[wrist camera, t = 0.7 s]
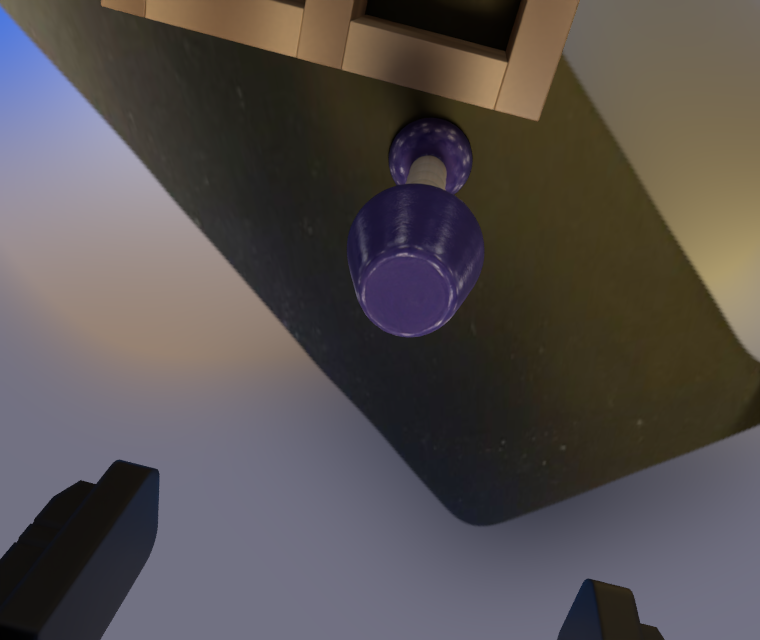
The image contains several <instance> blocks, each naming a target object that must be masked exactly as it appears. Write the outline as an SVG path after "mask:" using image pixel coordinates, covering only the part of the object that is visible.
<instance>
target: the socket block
mask: <svg viewBox="0 0 760 640" xmlns="http://www.w3.org/2000/svg"><path fill="white" fill-rule="evenodd" d="M367 1H368V0H101V6H103V7H106V8H110V9H114V10H118V11H121V12H125V13H129V14H133V15H137V16H140V17H146V18H148V19H152V20H155V21H159V22H163V23H167V24H170V25H174V26H178V27H182V28H186V29H189V30H193V31H197V32H201V33H204V34H208V35H212V36H216V37H220V38H223V39H227V40H231V41H235V42H239V43H242V44H246V45H250V46H254V47H257V48H261V49H265V50H269V51H273V52H276V53H280V54H284V55H288V56H291V57H297V58H299V59H302V60H306V61H310V62H314V63H318V64H321V65H325V66H329V67H333V68H336V69H342V70H344V71H348V72H352V73H355V74H359V75H363V76H367V77H371V78H374V79H378V80H382V81H386V82H389V83H393V84H397V85H401V86H405V87H408V88H412V89H416V90H420V91H423V92H427V93H431V94H435V95H439V96H442V97H446V98H450V99H454V100H457V101H461V102H465V103H469V104H473V105H476V106H480V107H484V108H488V109H492V110H493V109H494V110H496V111H499V112H503V113H507V114H511V115H514V116H518V117H522V118H526V119H530V120H533V121H539V119H540V116H541V113H542V110H543V107H544V104H545V101H546V98H547V95H548V92H549V90H550V87H551V84H552V81H553V78H554V75H555V72H556V69H557V66H558V63H559V60H560V57H561V54H562V51H563V48H564V45H565V42H566V39H567V36H568V33H569V31H570V28H571V25H572V22H573V19H574V16H575V13H576V10H577V7H578V4H579V1H580V0H521V2H520V5H519V8H518V12H517V15H516V18H515V22H514V25H513V28H512V32H511V35H510V38H509V42H508V45H507V48H506V52H505V51H503V50H499V49H495V48H491V47H487V46H484V45H480V44H476V43H472V42H468V41H465V40H461V39H457V38H453V37H449V36H446V35H442V34H438V33H434V32H430V31H427V30H423V29H419V28H415V27H412V26H408V25H404V24H400V23H396V22H393V21H389V20H385V19H381V18H377V17H374V16H370V15H365V11H366V6H367Z"/></svg>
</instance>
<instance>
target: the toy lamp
mask: <svg viewBox="0 0 760 640" xmlns="http://www.w3.org/2000/svg"><path fill="white" fill-rule="evenodd" d="M389 168H390V172H391V175H392V177H393V180H394V181H395V183H396V185H397V186H394V187H391V188H389V189H386V190H384V191H382V192H381V193H379V194H377V195H376V196H374V197H373V198H372V199H370V200H369V201H368V202H367V203H366V204H365V205H364V206H363V207H362V209H361V210H360V211H359V213H358V214H357V216H356V218H355V219H354V221H353V223H352V225H351V228H350V231H349V235H348V242H347V256H348V264H349V268H350V272H351V276H352V280H353V284H354V287H355V291H356V295H357V298H358V301H359V303H360V305H361V307H362V309H363V311H364V313H365V314H366V316H367V317H368V318H369V319H370V320H371V321H372V322H373V323H374V324H375V325H376V326H378V327H379V328H381V329H382V330H384V331H385V332H388V333H391V334H393V335H396V336H401V337H418V336H423V335H425V334H428V333H431V332H433V331H435V330H437V329H439V328H440V327H442V326H443V325H444V324H445V323H446V322H448V320H449V319H450V318H451V317H452V316H453V315H454V314H455V312H456V311H457V310H458V308H459V307H460V306H461V304H462V303H463V301H464V300H465V299H466V297H467V295H468V294H469V292H470V291H471V290H472V288H473V287H474V285H475V283H476V281H477V279H478V277H479V275H480V272H481V269H482V266H483V261H484V241H483V236H482V232H481V229H480V226H479V224H478V222H477V220H476V218H475V217H474V215H473V214H472V212H471V211H470V209H469V208H468V207H467V206H466V205H465V203H464V202H463V201H462V200H460V199H458V198H457V197H456V196H455V195H454V194H455V193H457V192H458V191H459V190H460V189H461V188H462V187H463V185H464V184H465V182H466V181H467V179H468V177H469V174H470V172H471V168H472V151H471V147H470V143H469V141H468V139H467V138H466V136H465V135H464V133H463V132H462V131H461V130H460V129H459V128H458V127H457V126H456V125H454V124H452V123H451V122H449V121H446V120H444V119H439V118H432V117H431V118H423V119H419V120H416V121H414V122H411V123H409V124H408V125H406V126H405V127H404V128H403V129H402V130H401V131H400V132H399V133H398V134H397V135H396V137H395V139H394V141H393V143H392V145H391V148H390V152H389Z"/></svg>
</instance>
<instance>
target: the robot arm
mask: <svg viewBox="0 0 760 640" xmlns="http://www.w3.org/2000/svg"><path fill="white" fill-rule="evenodd" d="M158 502H159V471H158V470H157V469H155V468H151V467H147V466H143V465H139V464H135V463H131V462H126V461H123V460H116V461H115V462H114V463H113V464H112V465H111V466H110V467H109V469H108V470H107V471H106V472H105V474H104V475H103V476H102V477H101V479H100V480H99V481H98V482H97V484H93V483H89V482H85V481H81V480H80V481H78V482H77V483H75V484H74V485H72V486H70V487H69V488H67V489H65V490H64V491H62V492H61V493H59V494H57V495H55V496H54V497H53V498H52V499H51V500H50V501H49V503H48V504H47V505H46V506H45V507H44V508H43V510H42V511H41V512H40V513H39V514H38V515H37V517H36V518H35V519H34V522H33V524H30V525H29V526H28V527H27V528H26V530H25V531H24V532H23V533H22V534H21V535H20V537H19V539H18V541H17V543H16V542H15V543H14V544H13V545H12V546H11V547H10V549H9V550H8V551H7V552H6V553H5V554H4V556H3V557H2V558H1V559H0V640H100V639H101V637H102V636H103V634H104V632H105V631H106V629H107V627H108V626H109V624H110V622H111V621H112V619H113V617H114V616H115V614H116V612H117V611H118V609H119V607H120V606H121V604H122V602H123V600H124V599H125V597H126V595H127V594H128V592H129V590H130V589H131V587H132V585H133V584H134V582H135V580H136V578H137V577H138V575H139V574H140V572H141V570H142V568H143V567H144V565H145V563H146V561H147V560H148V558H149V556H150V553H151V551H152V548H153V545H154V542H155V538H156V534H157V528H158V504H159V503H158ZM557 640H664V638H663V636H662V635H661V633H660V632H659V631H658V629H657V627H653V626H649V625H645V624H641V623H640V620H639V616H638V612H637V607H636V603H635V599H634V595H633V593H632V591H631V590H630V589H628V588H624V587H620V586H616V585H612V584H608V583H604V582H600V581H596V580H592V579H586V580H585V581H584V582H583V584H582V586H581V588H580V590H579V592H578V594H577V596H576V598H575V601H574V602H573V605H572V607H571V609H570V611H569V613H568V615H567V617H566V620H565V621H564V624H563V626H562V628H561V630H560V632H559V635H558V639H557Z"/></svg>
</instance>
